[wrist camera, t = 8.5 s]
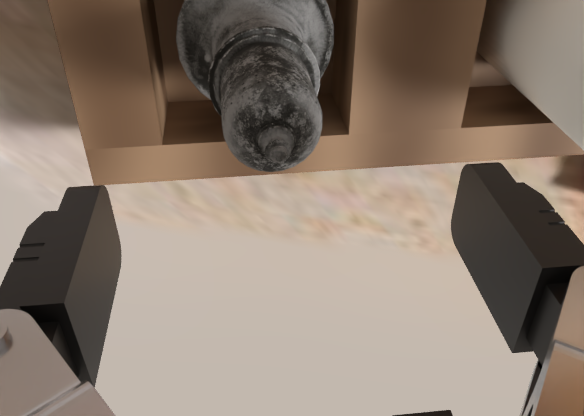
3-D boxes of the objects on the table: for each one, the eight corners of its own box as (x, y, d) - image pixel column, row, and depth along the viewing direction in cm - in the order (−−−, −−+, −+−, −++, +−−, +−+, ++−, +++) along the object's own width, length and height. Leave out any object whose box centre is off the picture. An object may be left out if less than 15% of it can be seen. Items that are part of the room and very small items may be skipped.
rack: (704, -144, 23) (809, -133, 19) (613, 101, 29) (676, 148, 25) (53, -139, 20) (15, -125, 16) (111, 128, 27) (93, 185, 23)
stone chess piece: (339, -35, 23) (436, 84, 13) (292, 93, 26) (342, 265, 16) (198, -86, 21) (190, 9, 11) (166, 58, 24) (138, 227, 14)
